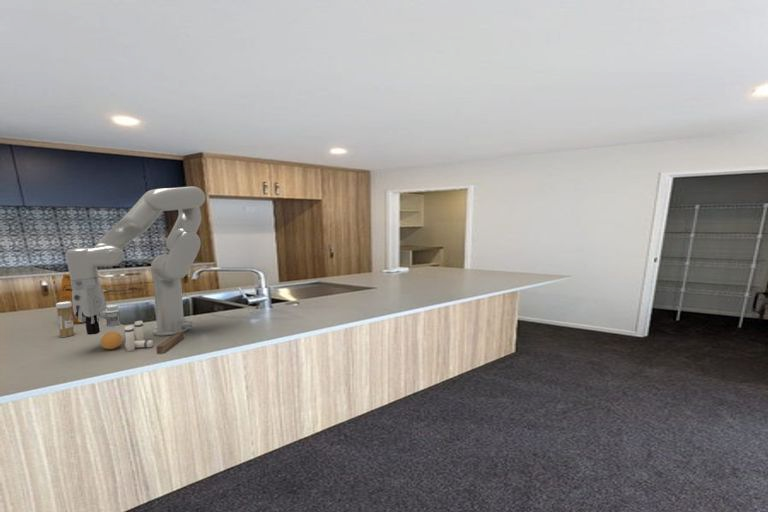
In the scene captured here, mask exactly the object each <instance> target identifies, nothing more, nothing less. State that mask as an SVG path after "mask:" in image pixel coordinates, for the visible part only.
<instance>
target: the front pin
mask: <svg viewBox="0 0 768 512" xmlns="http://www.w3.org/2000/svg"><path fill="white" fill-rule="evenodd" d="M134 343H135V349H137V348H145V349H146V348H152V347H153V346H154V341H153V339H151V340H150V339H146V340H145V339H144V341H136V340H134ZM124 347H125V348H126V342H124Z"/></svg>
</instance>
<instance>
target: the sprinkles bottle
mask: <svg viewBox="0 0 768 512" xmlns="http://www.w3.org/2000/svg"><path fill="white" fill-rule="evenodd" d="M71 306H72V303H71V302H60V301H59V302H57V303H56V304H55V308H56V310H57V311H56V312H57V323H58V329H59V330H58V331H59V337H61V338H67V337H71V336H74V335H75V332H74V324H73V317H72V310H71Z"/></svg>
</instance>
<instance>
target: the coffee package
mask: <svg viewBox="0 0 768 512" xmlns="http://www.w3.org/2000/svg"><path fill="white" fill-rule="evenodd" d="M72 290H73V289H72V286H71V280H70V274H69V273H67V274H66V273H64V274H63V275H62V279H61V285H60V291H59V303H60V302H71V303H72ZM71 310H72V317H73V325H80V324H84V322H78V318H77V317H75V315H74V311H73V304H72V306H71Z"/></svg>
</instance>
